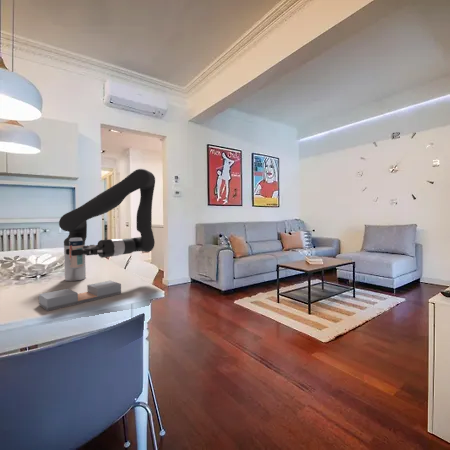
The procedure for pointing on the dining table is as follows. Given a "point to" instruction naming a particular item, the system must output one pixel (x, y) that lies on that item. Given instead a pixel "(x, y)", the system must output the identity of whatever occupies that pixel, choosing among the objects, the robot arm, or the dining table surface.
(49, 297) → the grey peach bar
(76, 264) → the beer can
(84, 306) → the dining table surface
